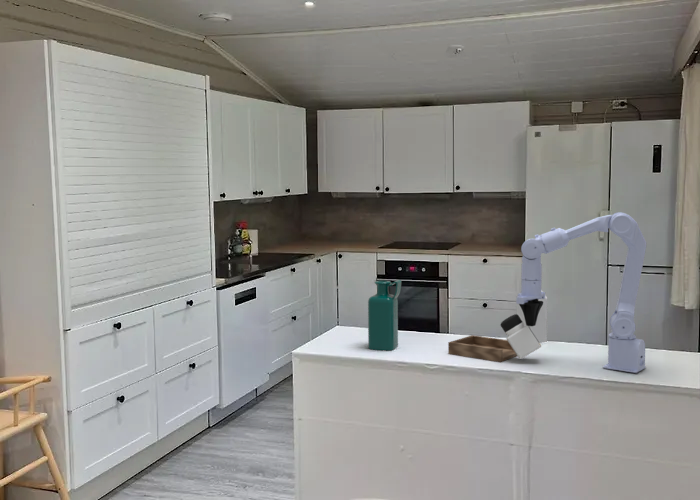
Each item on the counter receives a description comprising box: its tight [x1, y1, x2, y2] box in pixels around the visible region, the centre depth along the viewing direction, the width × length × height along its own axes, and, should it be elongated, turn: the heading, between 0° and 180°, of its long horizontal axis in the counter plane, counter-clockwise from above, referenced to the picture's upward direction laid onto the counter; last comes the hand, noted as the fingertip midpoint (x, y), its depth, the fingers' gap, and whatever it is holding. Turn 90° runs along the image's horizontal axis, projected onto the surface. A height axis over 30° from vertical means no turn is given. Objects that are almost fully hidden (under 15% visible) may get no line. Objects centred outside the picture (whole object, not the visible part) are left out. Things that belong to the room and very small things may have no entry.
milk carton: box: [515, 289, 548, 343], centre depth 233 cm, size 7×7×19 cm
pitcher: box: [367, 279, 402, 352], centre depth 226 cm, size 10×8×22 cm
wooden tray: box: [447, 335, 518, 363], centre depth 217 cm, size 18×14×4 cm
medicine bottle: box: [499, 313, 542, 360], centre depth 208 cm, size 7×7×12 cm
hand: (530, 325), depth 207 cm, fingers closed
